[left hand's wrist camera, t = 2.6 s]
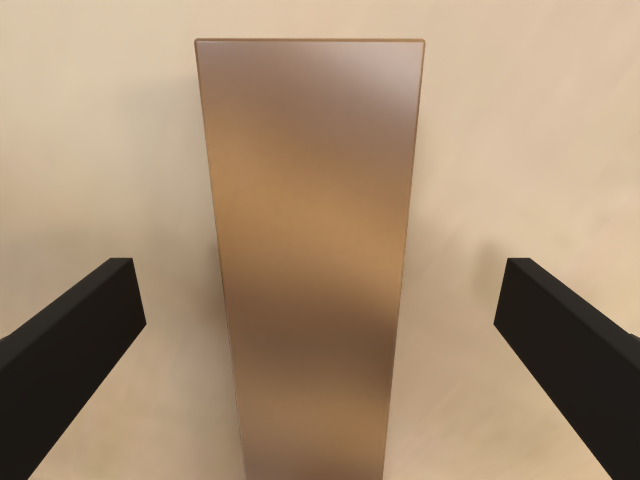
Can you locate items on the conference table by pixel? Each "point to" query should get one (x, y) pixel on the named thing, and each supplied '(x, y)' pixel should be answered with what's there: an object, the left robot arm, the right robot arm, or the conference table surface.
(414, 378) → the conference table surface
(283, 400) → the beam
